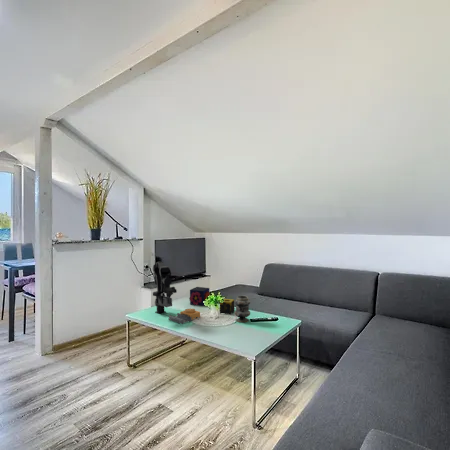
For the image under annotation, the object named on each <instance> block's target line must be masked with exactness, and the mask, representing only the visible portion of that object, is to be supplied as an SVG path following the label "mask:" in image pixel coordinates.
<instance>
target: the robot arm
mask: <svg viewBox="0 0 450 450" xmlns="http://www.w3.org/2000/svg"><path fill="white" fill-rule="evenodd" d="M152 272H153V274H154V276H155V280H156V291H153V292H152V296H153V297H155V299H154V306H155V307H156V311H154V312H155V313H156V314H164V313H166V310H165V307H164V306H161V305H158V298H159V299H160V301H161V304H163V296H166V297H170V298H172V296H173V295H174V294H176V293H177V291H178V290H177V289H176V287H175V286H171V284H172V283H173V281H172V279H171V278H170V277H172V272H171V268H170V267H169V266H166V265H165V264H164V262H163V261H157V262H156V263H154V264H153V266H152Z"/></svg>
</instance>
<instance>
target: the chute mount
mask: <svg viewBox="0 0 450 450" xmlns="http://www.w3.org/2000/svg"><path fill="white" fill-rule="evenodd" d="M168 320H170V321H172V322H175V323H178V324H180V325H183V324H186V323H188V322H192V321H193V319H192V317H190V316H186V315H183V314H180V312H177V313H176V316H173V315H168Z"/></svg>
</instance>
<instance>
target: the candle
mask: <svg viewBox="0 0 450 450" xmlns="http://www.w3.org/2000/svg"><path fill="white" fill-rule="evenodd" d="M223 299H224V302H223V303H220V302H219V314H221V313H225V314H224V315H232V314H233V313H234V312H235V310H236V307H235V299H232V298H223Z"/></svg>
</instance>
